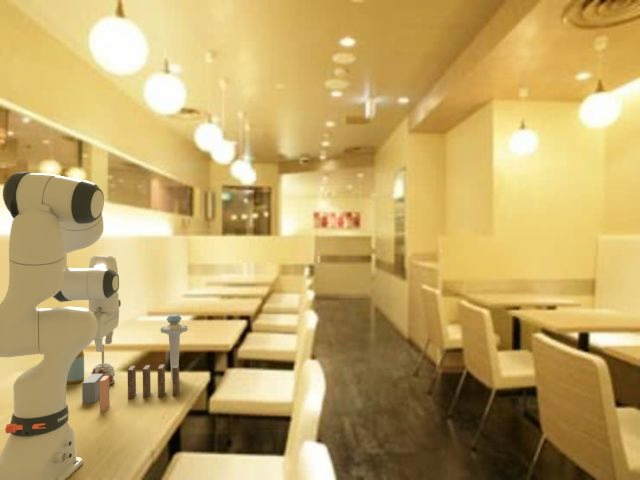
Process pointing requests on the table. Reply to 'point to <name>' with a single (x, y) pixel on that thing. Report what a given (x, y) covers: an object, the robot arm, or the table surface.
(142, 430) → the table surface
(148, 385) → the domino
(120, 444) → the table surface
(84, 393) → the end block
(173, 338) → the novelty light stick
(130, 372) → the domino
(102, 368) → the decorative ornament
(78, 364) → the bottle
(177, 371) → the domino
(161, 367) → the domino
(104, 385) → the domino
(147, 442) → the table surface
